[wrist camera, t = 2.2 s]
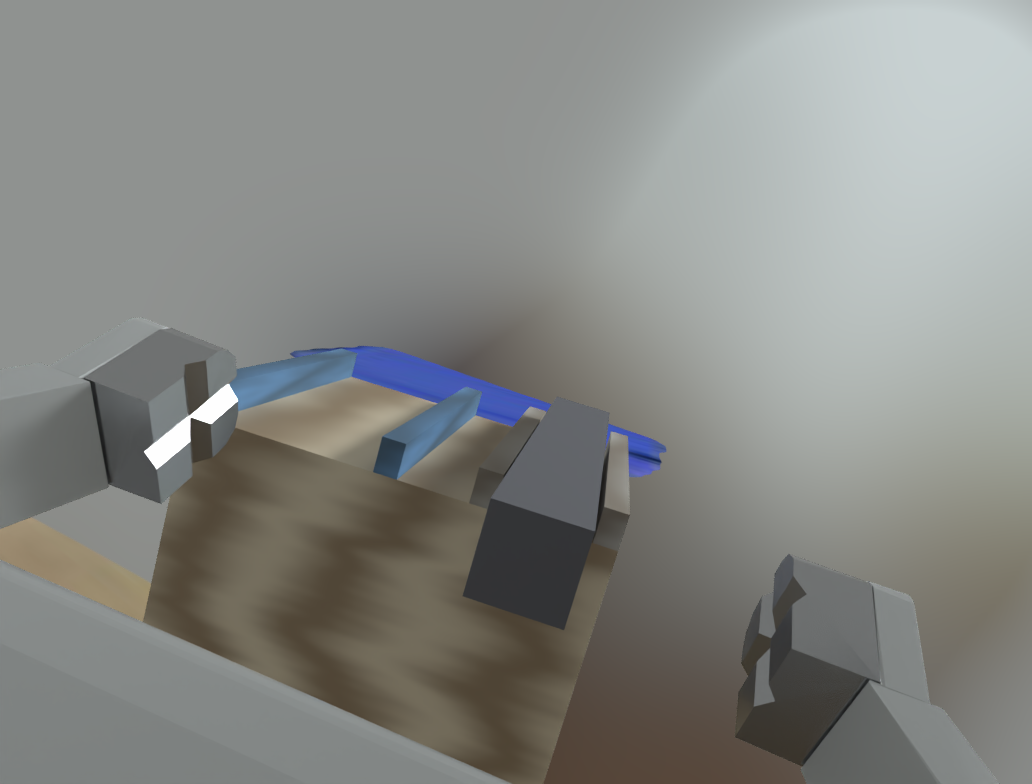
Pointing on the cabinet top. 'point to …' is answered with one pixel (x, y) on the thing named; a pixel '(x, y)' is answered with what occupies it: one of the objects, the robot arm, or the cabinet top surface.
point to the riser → (376, 562)
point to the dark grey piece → (543, 518)
